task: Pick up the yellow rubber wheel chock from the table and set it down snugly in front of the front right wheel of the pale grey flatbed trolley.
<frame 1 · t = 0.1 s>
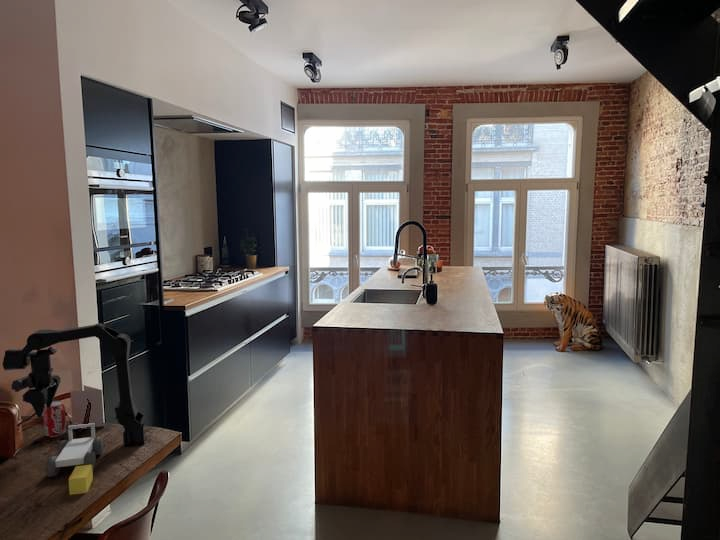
hand: (44, 412, 175), 15 cm above the table, tool pointing down, fingers open, 9 cm apart
trolley: (77, 464, 168), on the table
greeting card: (87, 427, 198), on the table
soda can: (55, 434, 191), on the table
chock: (81, 487, 154), on the table
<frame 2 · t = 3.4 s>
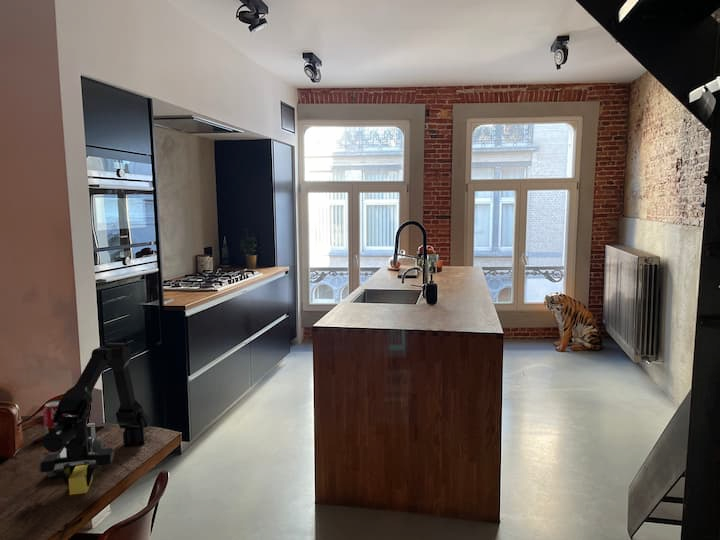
hand: (79, 486, 152), 1 cm above the table, tool pointing down, fingers closed on chock, 4 cm apart
chock: (81, 486, 154), on the table, touching gripper
everything else where it was.
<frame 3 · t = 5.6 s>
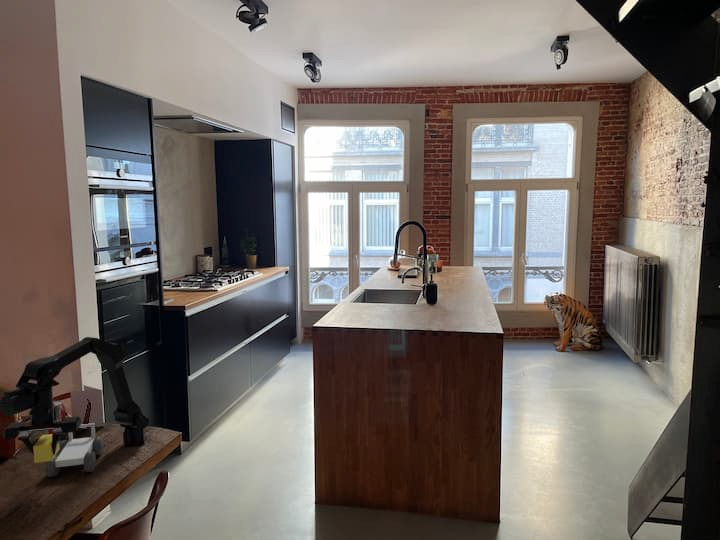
hand: (45, 455, 150), 11 cm above the table, tool pointing down, fingers closed on chock, 4 cm apart
chock: (47, 455, 152), point 10 cm above the table, touching gripper
everything else where it was.
when the fingers open (2 cm above the table, at t = 7.6 s): chock drops 2 cm, on the table.
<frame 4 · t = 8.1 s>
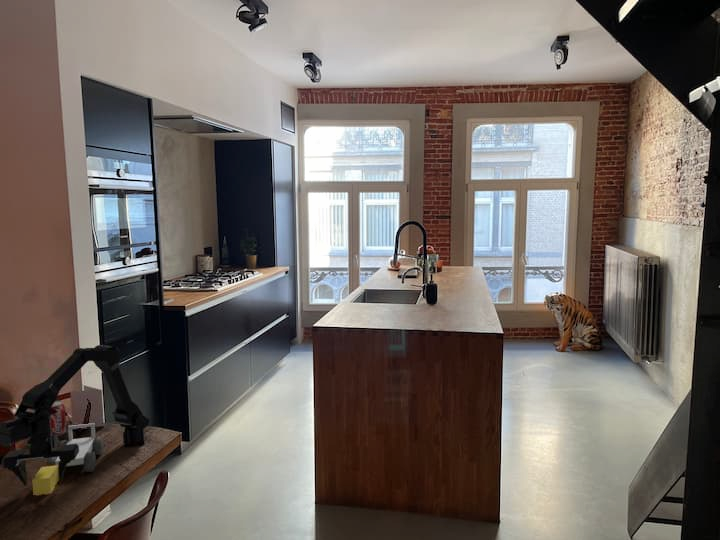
hand: (43, 482, 152), 2 cm above the table, tool pointing down, fingers open, 9 cm apart
chock: (46, 488, 154), on the table
everything else where it was.
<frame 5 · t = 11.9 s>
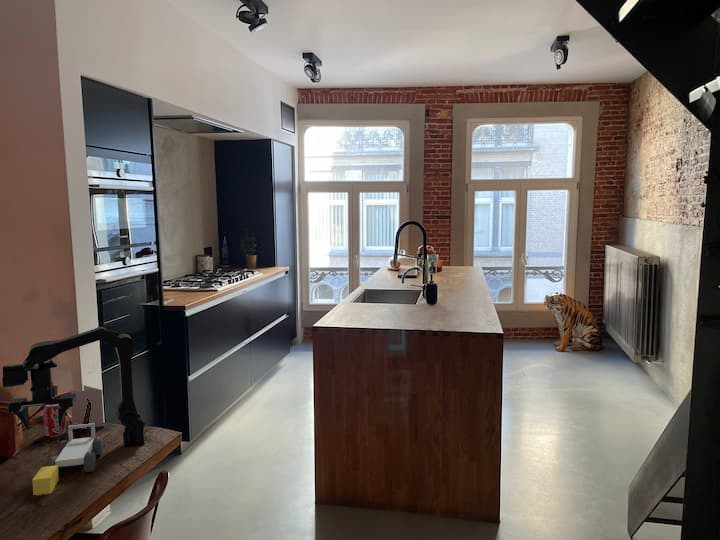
hand: (44, 427, 168), 12 cm above the table, tool pointing down, fingers open, 9 cm apart
nothing on the table moved.
at the end: chock 0.7 cm from the target spot on the table beside the trolley, on the table; chock tilted 0°; the gripper is holding nothing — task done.
